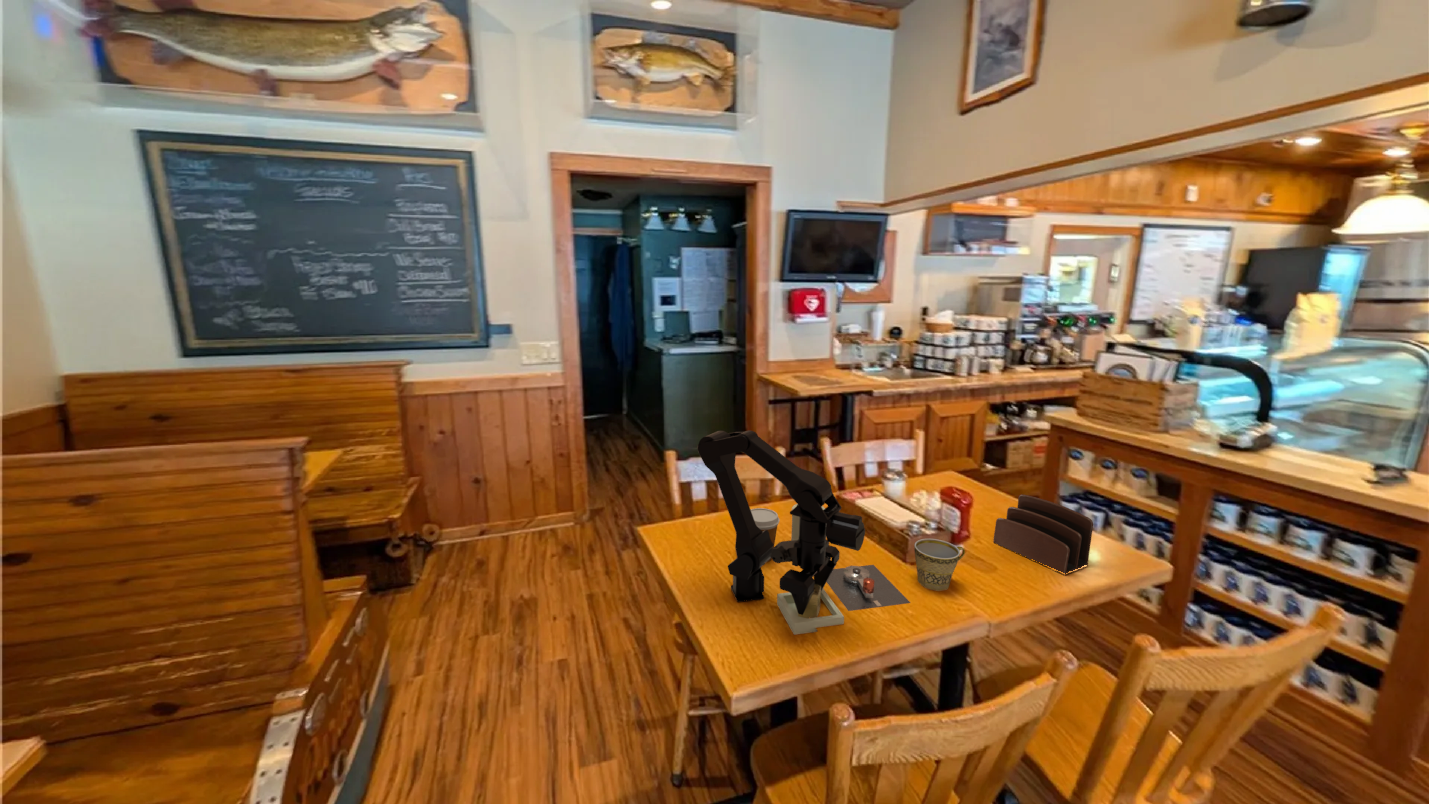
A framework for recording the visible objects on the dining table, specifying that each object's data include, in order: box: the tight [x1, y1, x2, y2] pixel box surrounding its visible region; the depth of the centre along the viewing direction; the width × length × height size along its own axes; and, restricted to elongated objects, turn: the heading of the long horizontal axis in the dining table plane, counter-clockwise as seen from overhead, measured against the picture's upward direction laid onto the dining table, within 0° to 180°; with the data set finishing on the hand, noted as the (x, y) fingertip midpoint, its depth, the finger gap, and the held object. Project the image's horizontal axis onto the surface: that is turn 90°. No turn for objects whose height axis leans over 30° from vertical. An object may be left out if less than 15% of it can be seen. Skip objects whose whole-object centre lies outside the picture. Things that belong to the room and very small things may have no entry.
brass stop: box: [798, 584, 822, 619], centre depth 115 cm, size 4×4×6 cm
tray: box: [776, 588, 845, 636], centre depth 115 cm, size 11×11×3 cm
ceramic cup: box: [913, 538, 966, 592], centre depth 126 cm, size 13×10×10 cm
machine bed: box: [826, 564, 911, 612], centre depth 125 cm, size 15×17×2 cm
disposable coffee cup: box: [750, 507, 780, 563], centre depth 140 cm, size 10×10×12 cm
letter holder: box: [992, 493, 1094, 574], centre depth 141 cm, size 10×20×14 cm, turn 27°
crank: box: [844, 565, 874, 598], centre depth 125 cm, size 12×6×4 cm, turn 4°
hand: (809, 603), depth 115 cm, fingers open, 9 cm apart
